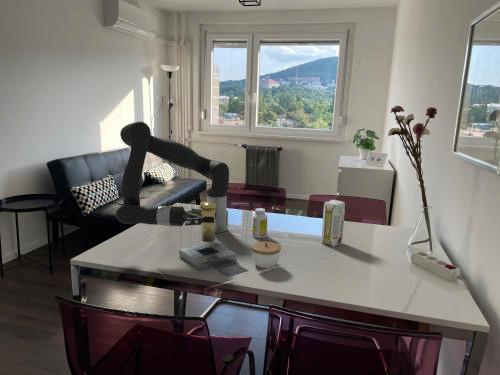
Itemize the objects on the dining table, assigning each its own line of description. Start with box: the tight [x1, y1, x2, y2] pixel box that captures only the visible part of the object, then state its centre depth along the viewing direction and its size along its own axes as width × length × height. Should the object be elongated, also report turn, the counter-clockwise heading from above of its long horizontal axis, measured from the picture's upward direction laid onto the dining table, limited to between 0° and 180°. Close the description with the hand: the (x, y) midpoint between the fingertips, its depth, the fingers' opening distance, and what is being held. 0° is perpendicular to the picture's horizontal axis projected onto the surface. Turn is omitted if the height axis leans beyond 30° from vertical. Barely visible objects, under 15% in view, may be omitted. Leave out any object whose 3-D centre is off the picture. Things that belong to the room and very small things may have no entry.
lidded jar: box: [251, 241, 282, 270], centre depth 141 cm, size 11×11×9 cm
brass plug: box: [199, 200, 216, 243], centre depth 143 cm, size 6×6×14 cm
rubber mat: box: [213, 261, 249, 278], centre depth 138 cm, size 9×9×1 cm
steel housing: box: [178, 240, 237, 272], centre depth 146 cm, size 16×16×4 cm
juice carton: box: [321, 199, 346, 247], centre depth 166 cm, size 8×9×19 cm
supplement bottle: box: [252, 207, 268, 239], centre depth 173 cm, size 7×7×13 cm
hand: (215, 217), depth 143 cm, fingers closed on brass plug, 5 cm apart
